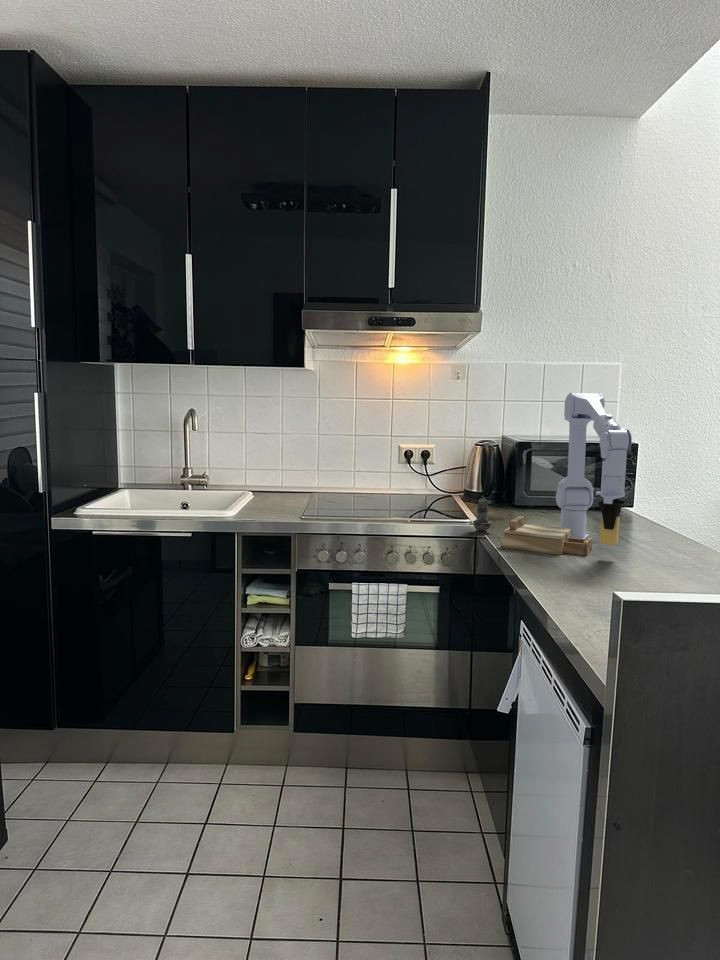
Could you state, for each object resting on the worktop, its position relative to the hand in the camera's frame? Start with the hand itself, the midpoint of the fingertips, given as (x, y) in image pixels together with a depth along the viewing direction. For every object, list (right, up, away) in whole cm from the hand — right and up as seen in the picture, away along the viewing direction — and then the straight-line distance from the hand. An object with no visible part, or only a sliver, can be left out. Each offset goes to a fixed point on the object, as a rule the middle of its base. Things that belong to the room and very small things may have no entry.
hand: (610, 527), depth 171 cm
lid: (-15, -2, +15) cm, 21 cm away
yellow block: (0, -4, +1) cm, 4 cm away
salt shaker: (-27, -4, +34) cm, 44 cm away
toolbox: (-12, -7, +14) cm, 20 cm away
